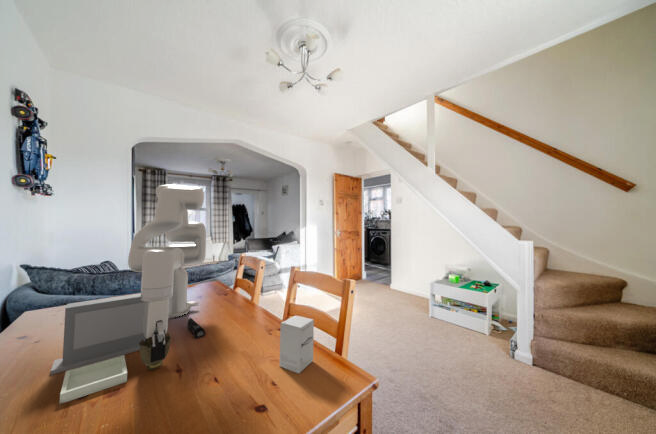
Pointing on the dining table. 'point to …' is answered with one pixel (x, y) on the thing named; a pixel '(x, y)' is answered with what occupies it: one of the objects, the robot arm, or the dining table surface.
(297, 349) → the supplement box
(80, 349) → the grey sign holder
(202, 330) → the electric trimmer
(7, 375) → the dining table surface
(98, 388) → the parts tray
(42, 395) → the dining table surface
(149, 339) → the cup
